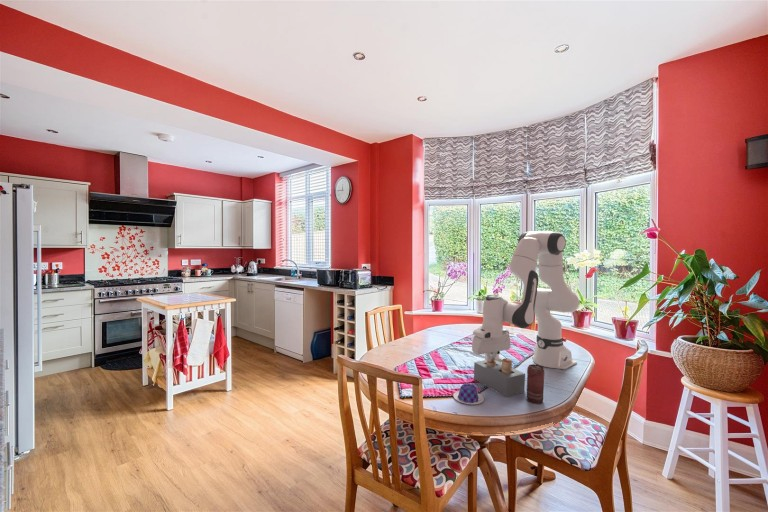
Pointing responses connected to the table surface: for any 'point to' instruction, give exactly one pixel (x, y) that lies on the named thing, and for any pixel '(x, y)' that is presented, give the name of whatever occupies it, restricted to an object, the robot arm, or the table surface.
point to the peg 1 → (491, 363)
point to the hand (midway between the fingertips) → (491, 361)
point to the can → (535, 383)
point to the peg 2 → (506, 366)
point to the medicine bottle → (497, 358)
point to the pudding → (468, 394)
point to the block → (499, 378)
